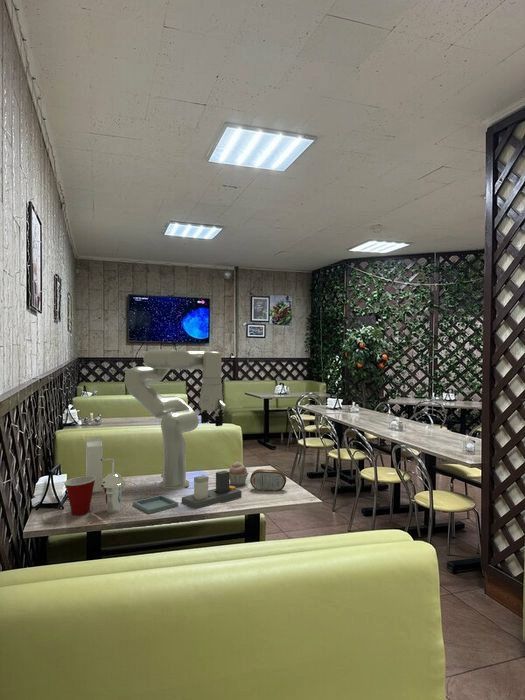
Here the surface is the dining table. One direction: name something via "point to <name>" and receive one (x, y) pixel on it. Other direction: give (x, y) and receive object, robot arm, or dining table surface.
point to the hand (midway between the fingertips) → (211, 424)
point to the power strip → (212, 498)
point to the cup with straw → (112, 489)
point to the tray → (155, 504)
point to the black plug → (222, 482)
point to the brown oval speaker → (268, 480)
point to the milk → (95, 461)
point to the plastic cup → (80, 493)
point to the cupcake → (237, 474)
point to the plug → (200, 487)
